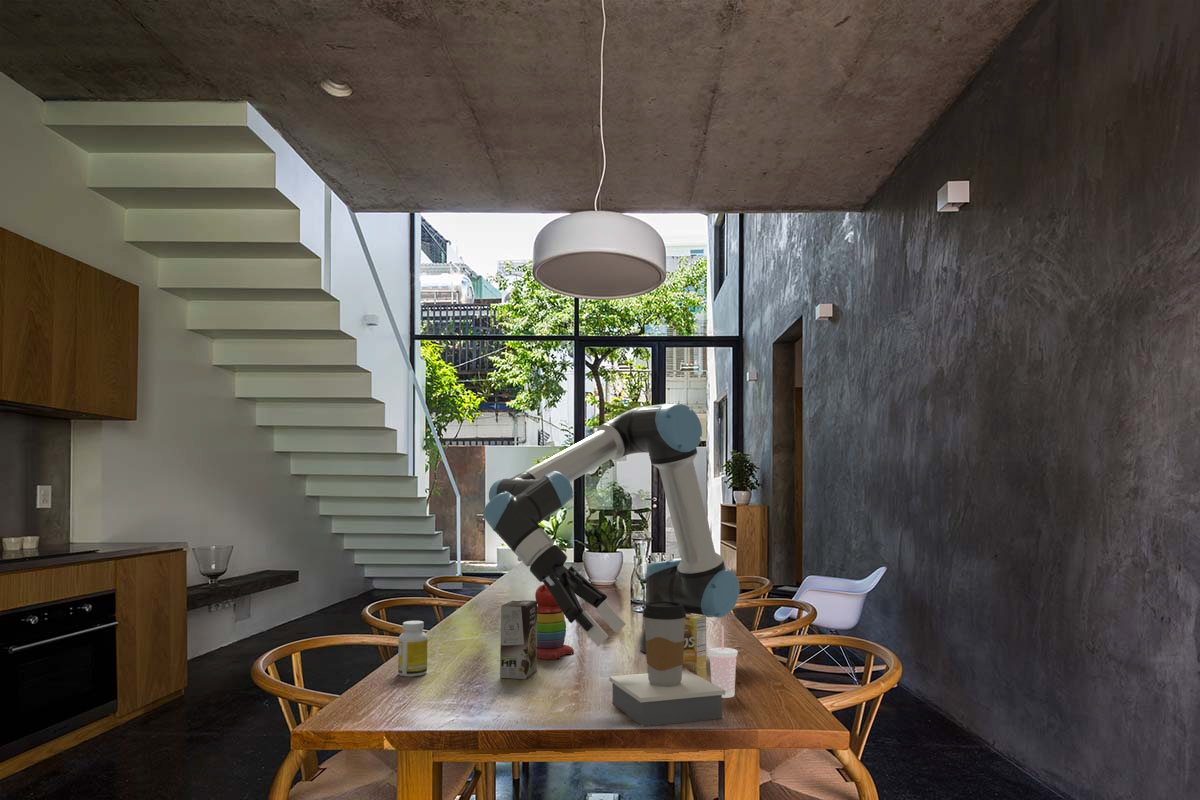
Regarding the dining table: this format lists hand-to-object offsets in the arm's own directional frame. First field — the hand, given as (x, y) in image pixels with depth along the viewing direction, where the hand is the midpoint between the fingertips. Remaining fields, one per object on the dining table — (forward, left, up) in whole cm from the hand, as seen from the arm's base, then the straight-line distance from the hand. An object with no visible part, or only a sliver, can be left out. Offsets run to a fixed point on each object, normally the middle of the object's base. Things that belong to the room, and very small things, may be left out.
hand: (612, 635), depth 164 cm
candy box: (-20, -9, -14) cm, 26 cm away
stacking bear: (-1, -50, -14) cm, 52 cm away
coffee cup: (-8, +6, -9) cm, 14 cm away
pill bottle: (+34, -40, -14) cm, 54 cm away
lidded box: (-9, +6, -14) cm, 17 cm away
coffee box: (+11, -32, -14) cm, 37 cm away
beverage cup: (-25, -1, -14) cm, 28 cm away
